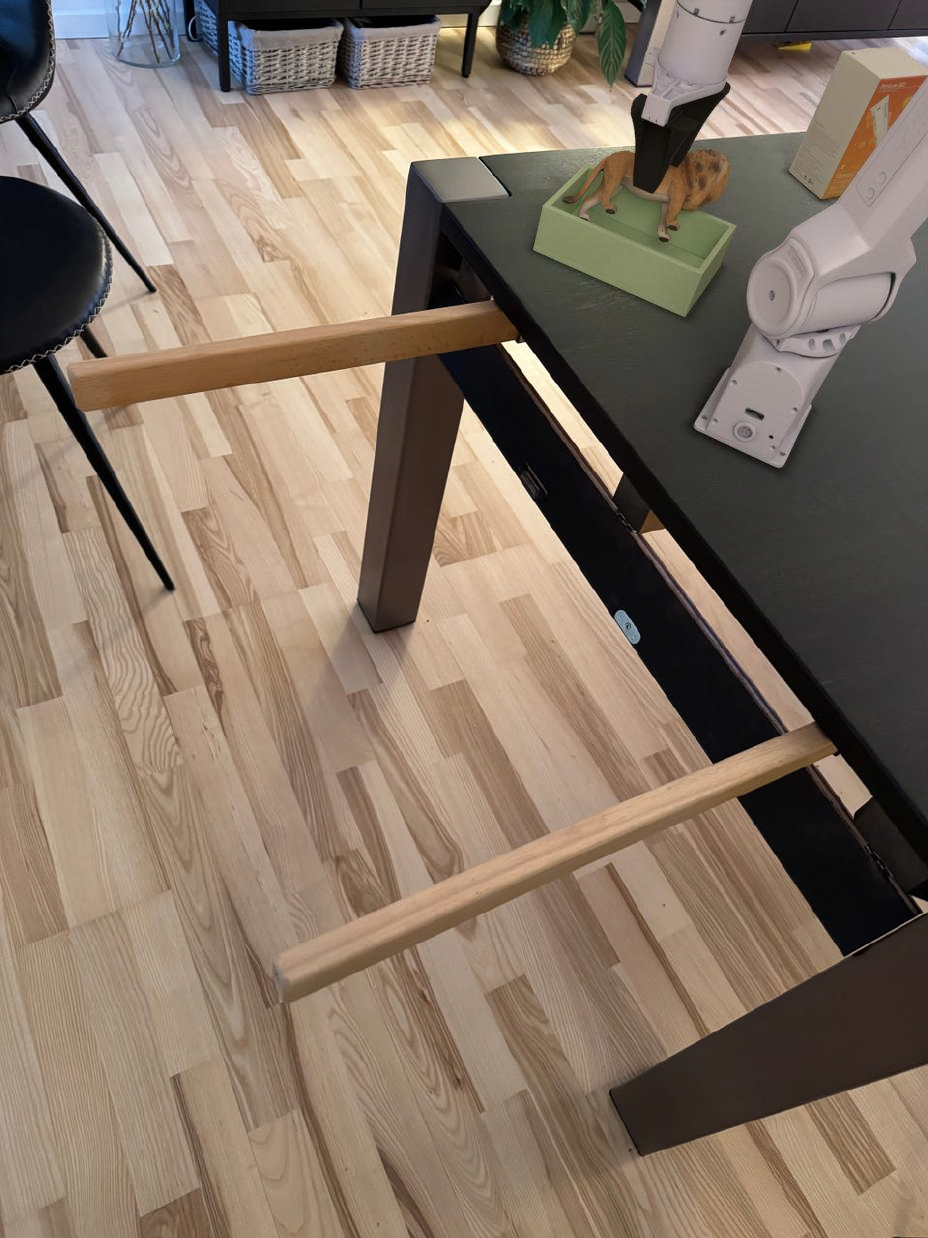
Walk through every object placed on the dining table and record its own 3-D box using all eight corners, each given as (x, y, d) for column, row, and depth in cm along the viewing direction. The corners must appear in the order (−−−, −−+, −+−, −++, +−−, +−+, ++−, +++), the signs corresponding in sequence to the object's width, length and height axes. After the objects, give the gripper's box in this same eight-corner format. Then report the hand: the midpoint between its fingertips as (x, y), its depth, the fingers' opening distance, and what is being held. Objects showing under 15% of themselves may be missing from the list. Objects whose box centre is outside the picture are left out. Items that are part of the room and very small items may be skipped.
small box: (820, 201, 100) (881, 78, 90) (786, 171, 103) (840, 48, 93) (873, 193, 103) (937, 72, 92) (838, 163, 106) (896, 43, 95)
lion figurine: (701, 260, 88) (726, 173, 88) (716, 236, 82) (744, 143, 82) (557, 217, 88) (583, 130, 88) (564, 190, 82) (591, 97, 82)
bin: (684, 317, 84) (702, 274, 80) (532, 250, 87) (542, 205, 83) (719, 267, 89) (737, 225, 86) (575, 206, 92) (586, 162, 89)
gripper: (697, -36, 75) (647, 128, 86) (630, 16, 67) (584, 189, 78) (775, -6, 73) (714, 156, 85) (716, 50, 65) (657, 222, 76)
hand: (656, 174), depth 81 cm, fingers open, 5 cm apart
